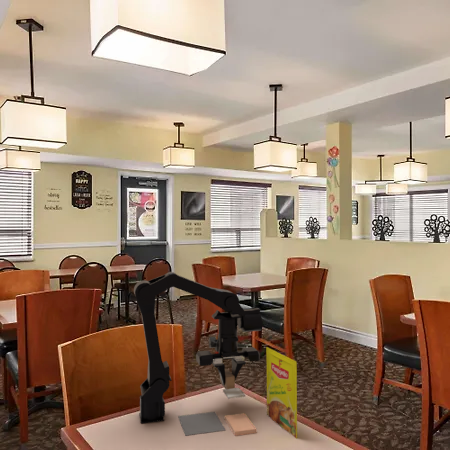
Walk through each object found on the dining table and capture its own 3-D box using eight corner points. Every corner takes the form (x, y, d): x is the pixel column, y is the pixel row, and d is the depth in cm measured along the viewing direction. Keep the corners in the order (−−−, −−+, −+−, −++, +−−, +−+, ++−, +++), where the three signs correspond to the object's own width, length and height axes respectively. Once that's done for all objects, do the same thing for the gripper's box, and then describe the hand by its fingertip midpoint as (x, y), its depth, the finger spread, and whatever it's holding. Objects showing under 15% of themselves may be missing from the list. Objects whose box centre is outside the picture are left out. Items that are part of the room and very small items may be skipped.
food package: (265, 415, 124) (264, 347, 125) (268, 414, 125) (268, 346, 125) (295, 439, 110) (294, 361, 111) (298, 438, 111) (298, 361, 111)
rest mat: (185, 436, 112) (185, 435, 112) (178, 417, 124) (178, 416, 124) (225, 430, 115) (225, 429, 115) (214, 412, 127) (214, 411, 127)
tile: (224, 421, 122) (234, 438, 112) (224, 415, 122) (234, 431, 112) (244, 419, 123) (256, 435, 114) (244, 413, 123) (256, 428, 114)
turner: (216, 382, 133) (215, 369, 133) (231, 381, 134) (231, 368, 135) (228, 398, 120) (228, 384, 120) (245, 396, 121) (245, 382, 121)
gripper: (248, 325, 139) (248, 372, 139) (192, 328, 134) (192, 378, 134) (260, 333, 129) (260, 384, 128) (200, 337, 124) (200, 391, 123)
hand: (228, 384), depth 129 cm, fingers closed on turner, 2 cm apart
